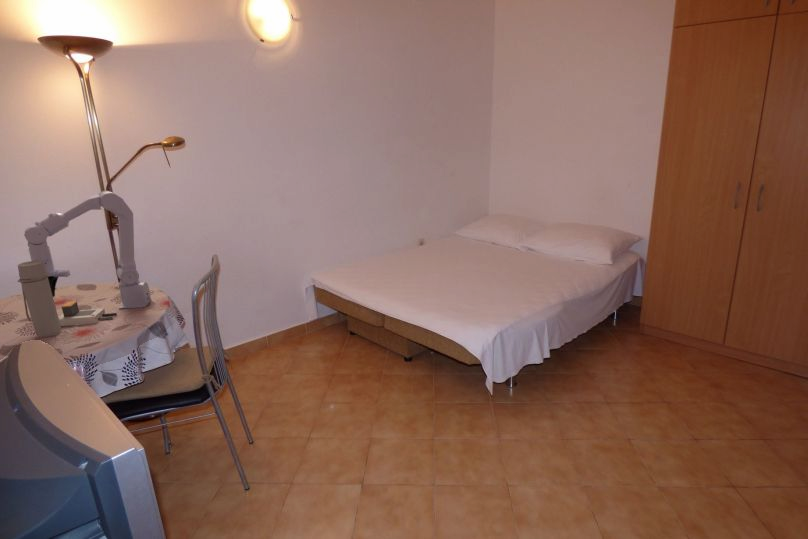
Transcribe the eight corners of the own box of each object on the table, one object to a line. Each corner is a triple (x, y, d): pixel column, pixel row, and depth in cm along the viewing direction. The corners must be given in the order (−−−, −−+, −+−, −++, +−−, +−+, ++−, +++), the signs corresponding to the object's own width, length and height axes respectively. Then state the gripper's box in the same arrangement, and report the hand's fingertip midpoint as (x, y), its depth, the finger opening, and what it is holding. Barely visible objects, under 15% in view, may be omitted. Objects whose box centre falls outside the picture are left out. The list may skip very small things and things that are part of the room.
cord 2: (116, 315, 179) (116, 312, 179) (115, 316, 178) (115, 313, 178) (102, 316, 179) (101, 313, 178) (101, 317, 178) (100, 314, 177)
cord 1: (113, 318, 176) (112, 315, 176) (112, 319, 175) (111, 316, 175) (98, 319, 175) (97, 317, 175) (97, 320, 174) (96, 318, 174)
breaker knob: (79, 311, 177) (76, 301, 176) (73, 315, 173) (70, 305, 172) (70, 311, 176) (67, 301, 175) (64, 316, 172) (61, 306, 171)
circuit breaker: (105, 314, 180) (104, 307, 179) (96, 323, 172) (94, 316, 172) (67, 317, 178) (65, 311, 177) (56, 326, 171) (54, 319, 170)
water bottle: (67, 328, 168) (49, 259, 161) (52, 338, 161) (33, 266, 153) (40, 329, 168) (21, 260, 161) (24, 339, 161) (3, 267, 153)
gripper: (70, 255, 173) (78, 291, 177) (25, 258, 170) (35, 295, 174) (60, 261, 166) (69, 298, 170) (13, 264, 164) (23, 301, 168)
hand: (51, 297), depth 172 cm, fingers closed
